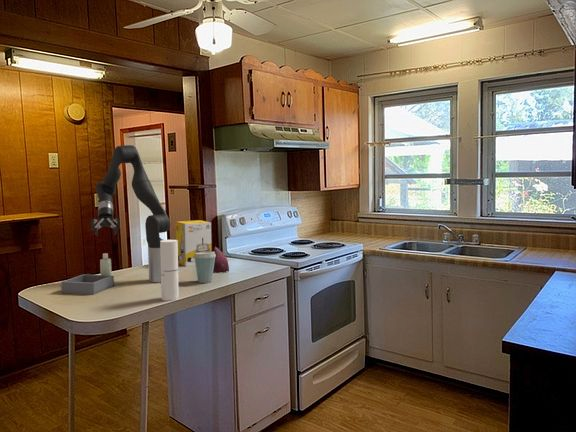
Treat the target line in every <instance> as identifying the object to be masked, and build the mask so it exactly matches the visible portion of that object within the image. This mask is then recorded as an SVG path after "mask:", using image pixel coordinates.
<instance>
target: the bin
mask: <svg viewBox="0 0 576 432" xmlns="http://www.w3.org/2000/svg"><path fill="white" fill-rule="evenodd" d="M60 283H61V285H60V286H61V294H75V295H76V294H78V295H79V294H80V295H96V294H99V293H101V292H103V291H105V290H108V289H110V288H112V287H114V286H115V278H114V275H112V274H111V275H101V274H85V273H84V274H80V275H77V276H75V277H72V278H69V279H66V280H64V281H61V282H60Z"/></svg>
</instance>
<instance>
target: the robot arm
mask: <svg viewBox="0 0 576 432" xmlns="http://www.w3.org/2000/svg"><path fill="white" fill-rule="evenodd" d="M121 164H131V166H132V167H133V175H132V180H131V188H132V190H133V192H134V194H135V196H136V198H137V199H138V201H139V202H141V203H142V204H143V205H145V206H146V207H147V208H148V209H149V210H150V211H151V213H152V214H151V215H148V216H147V217H146V219H145V222H144V224H145V228H144V229H145V237H146V242H147V256H148V257H147V259H148V260H147V261H148V263H147V265H148V281H149V282H150V283H161V254H160V241H162V240H164V239H162V238H161V236H160V234H161V233H167V232H168V231H170V229H171V221H170V218H169V216H168V214H167V213H166V211H165V209H164V208H163V206H162V203H161V202H160V199H159V198H158V196H157V194H156V192H155V190H154V187H153V185H152V182H151V180H150V179H149V177H148V175H147V173H146V170H145V168H144V166H143V162H142V159H141V157H140V154H139V151H138V149H137V148H136V146H134V145H132V144H130V145H129V144H128V145H127V144H126V145H124V144H123V145H117V146H116V147H115V149H114V150H113V152H112V157H111V160H110V163H109V168H108V170H107V173H106V174H105V176H104V178H103V181H98V182H97V183H96V184H95V192H96V195H97V197H98V207H97V208H98V209H97V211H98V213H97V219H95V218H93V217H92V218H91V221H90V222H91V223H90V230H91V231H94V232H93V233H94V235H95V236H96V237H98V233H99V232H98V230H99V229H101V228H105V227H107V228H108V227H109V228H111V229H113V236H116V235H117V230H121V222H120V220H121V219H120V217H116V218H114V202H113V200H114V199H113V196H114V195H115V194H116V190H117V184H118V182H119V180H120V178H121V176H122V175H121V174H122V173H121V170H120V165H121ZM115 223H116V224H115ZM95 224H96V225H95Z"/></svg>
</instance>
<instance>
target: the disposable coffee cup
mask: <svg viewBox="0 0 576 432" xmlns="http://www.w3.org/2000/svg"><path fill="white" fill-rule="evenodd" d="M194 257H195V264H196V266H195V269H196V277H197V281H198V283H200V284H208V283H211V282H212V280H213V275H214V272H213V269H214V262H215V257H216V254H215V252H214V251H211V252H200V253H196V254H195V255H194Z"/></svg>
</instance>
